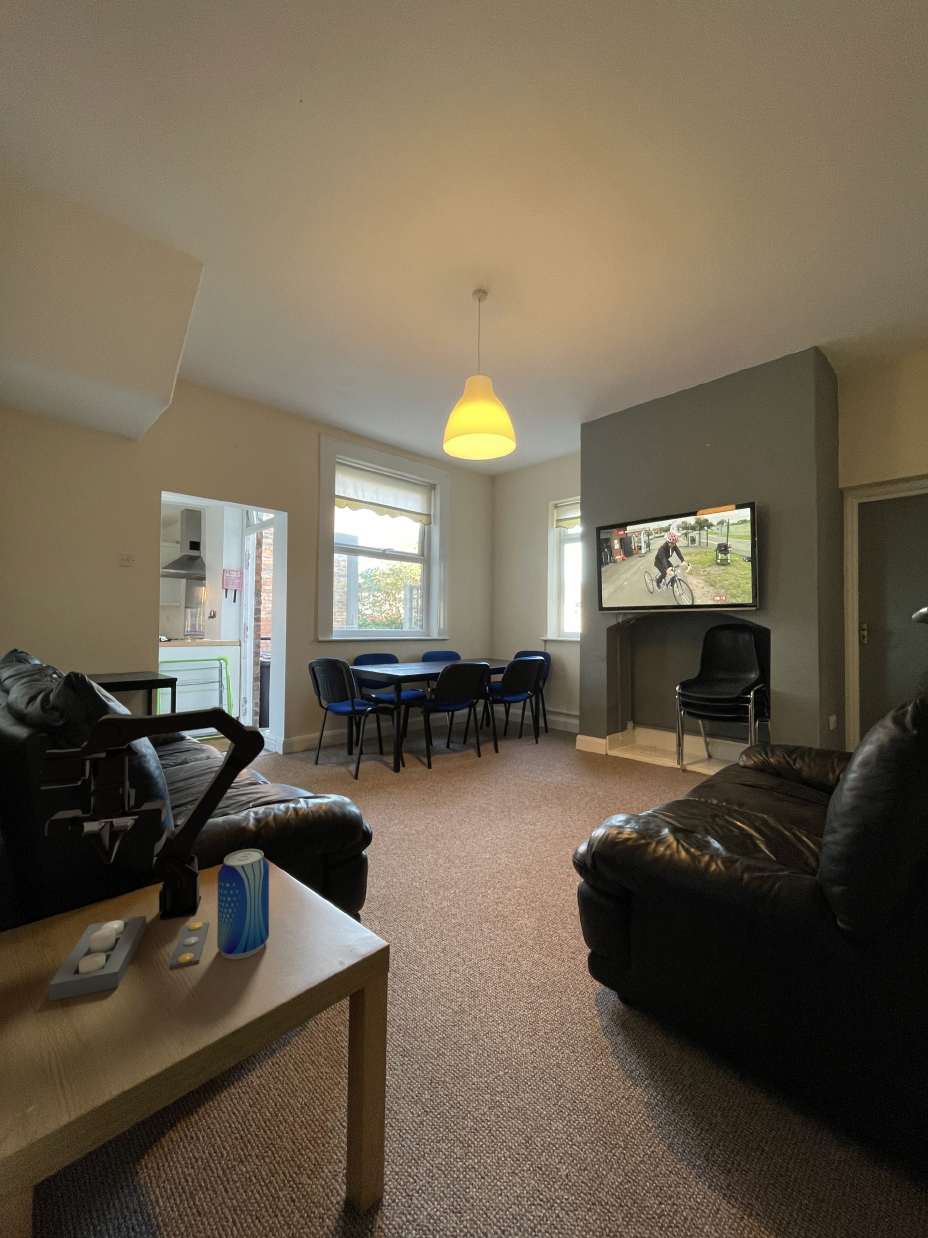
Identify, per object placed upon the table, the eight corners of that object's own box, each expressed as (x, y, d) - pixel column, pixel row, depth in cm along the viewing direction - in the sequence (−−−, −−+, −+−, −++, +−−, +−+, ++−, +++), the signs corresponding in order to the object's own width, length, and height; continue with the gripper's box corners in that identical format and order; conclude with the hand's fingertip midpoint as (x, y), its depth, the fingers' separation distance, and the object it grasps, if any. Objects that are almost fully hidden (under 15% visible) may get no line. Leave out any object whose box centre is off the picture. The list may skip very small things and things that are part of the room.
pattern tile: (209, 924, 99) (209, 920, 99) (199, 963, 87) (199, 959, 87) (183, 928, 97) (183, 924, 97) (169, 969, 86) (169, 964, 86)
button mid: (117, 941, 90) (118, 927, 90) (111, 953, 87) (111, 938, 87) (94, 945, 89) (94, 930, 89) (86, 957, 86) (87, 942, 86)
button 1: (108, 966, 85) (108, 950, 85) (101, 979, 82) (101, 963, 82) (83, 970, 84) (83, 955, 84) (75, 984, 81) (75, 968, 81)
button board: (145, 929, 97) (145, 915, 97) (117, 987, 81) (118, 971, 81) (89, 938, 94) (89, 924, 94) (49, 1001, 78) (49, 984, 78)
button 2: (126, 932, 95) (126, 919, 95) (120, 943, 91) (120, 929, 91) (104, 936, 94) (104, 922, 94) (97, 947, 90) (97, 933, 90)
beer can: (277, 946, 92) (277, 855, 92) (229, 969, 85) (229, 872, 86) (255, 928, 97) (256, 843, 98) (209, 948, 91) (210, 857, 92)
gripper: (173, 766, 110) (172, 840, 109) (68, 774, 104) (67, 852, 103) (161, 780, 99) (160, 862, 99) (44, 790, 93) (42, 877, 93)
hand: (109, 862), depth 99 cm, fingers closed
